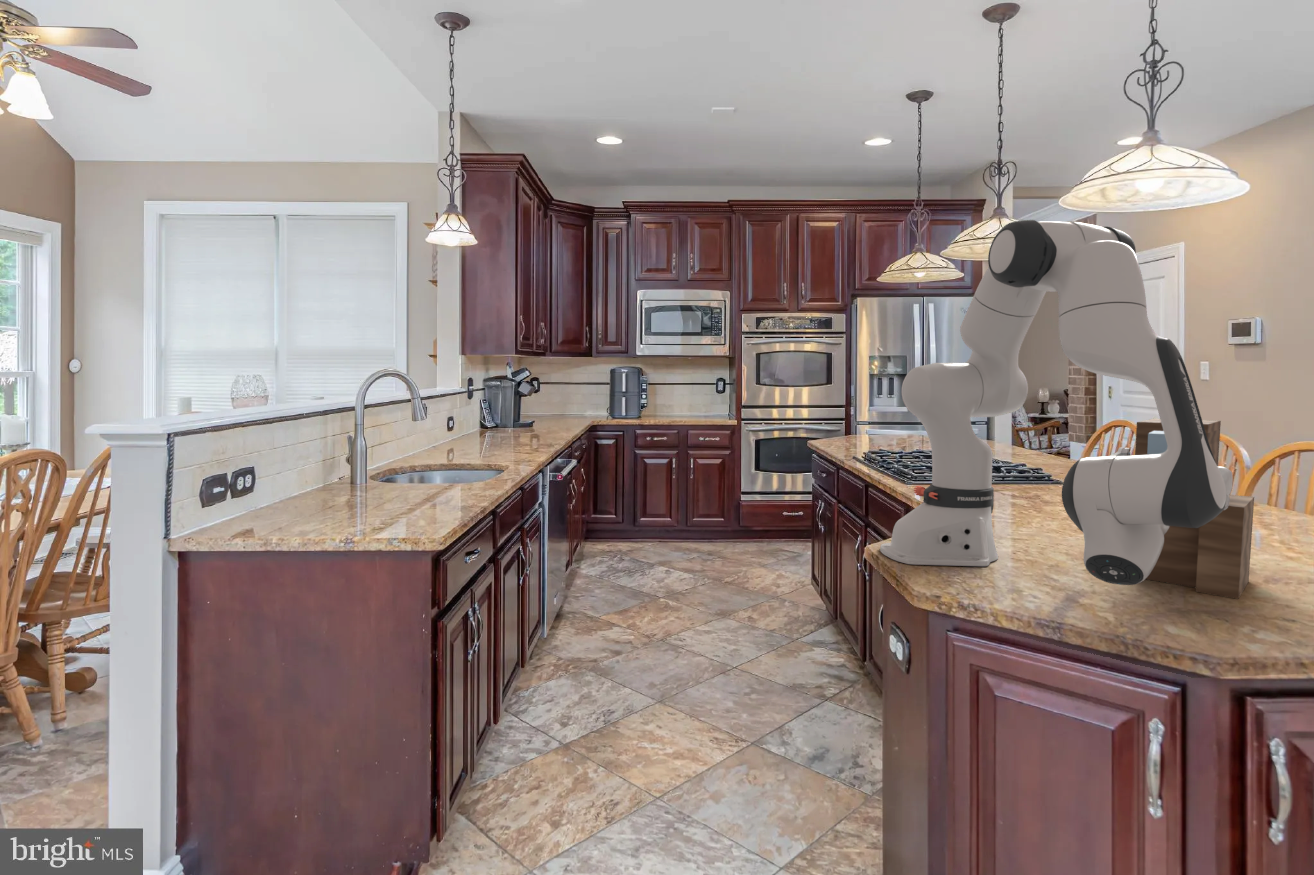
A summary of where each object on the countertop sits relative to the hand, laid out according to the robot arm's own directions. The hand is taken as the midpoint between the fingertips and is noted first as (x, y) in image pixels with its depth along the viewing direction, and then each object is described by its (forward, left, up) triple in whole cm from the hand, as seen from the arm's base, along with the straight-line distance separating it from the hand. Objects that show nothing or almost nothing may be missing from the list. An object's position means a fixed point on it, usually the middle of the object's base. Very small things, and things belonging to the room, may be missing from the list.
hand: (1158, 453), depth 114 cm
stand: (+13, +7, -23) cm, 27 cm away
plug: (+8, +6, 0) cm, 10 cm away
